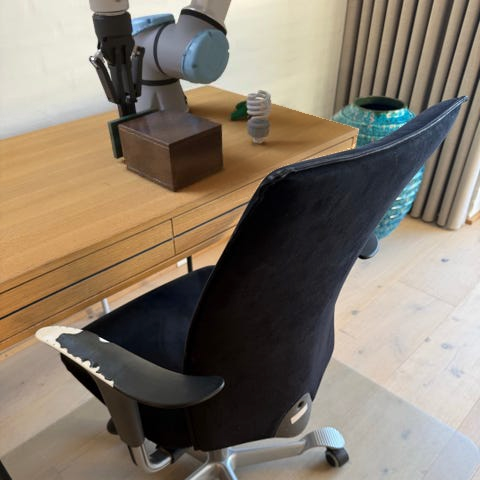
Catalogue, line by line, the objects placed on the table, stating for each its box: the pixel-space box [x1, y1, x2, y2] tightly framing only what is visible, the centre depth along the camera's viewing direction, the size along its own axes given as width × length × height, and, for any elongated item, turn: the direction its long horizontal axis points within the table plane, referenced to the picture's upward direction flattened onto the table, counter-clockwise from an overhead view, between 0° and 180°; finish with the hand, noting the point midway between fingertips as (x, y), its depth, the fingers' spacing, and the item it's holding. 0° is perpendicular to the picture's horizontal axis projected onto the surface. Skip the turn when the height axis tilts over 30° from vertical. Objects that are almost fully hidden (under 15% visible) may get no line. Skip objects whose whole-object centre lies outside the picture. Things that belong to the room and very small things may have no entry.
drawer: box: [107, 107, 159, 160], centre depth 105 cm, size 20×13×8 cm
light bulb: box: [246, 89, 272, 145], centre depth 110 cm, size 6×6×12 cm
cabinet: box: [119, 107, 224, 193], centre depth 101 cm, size 16×14×10 cm
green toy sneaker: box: [229, 99, 250, 121], centre depth 128 cm, size 9×4×6 cm
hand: (130, 132), depth 109 cm, fingers closed
